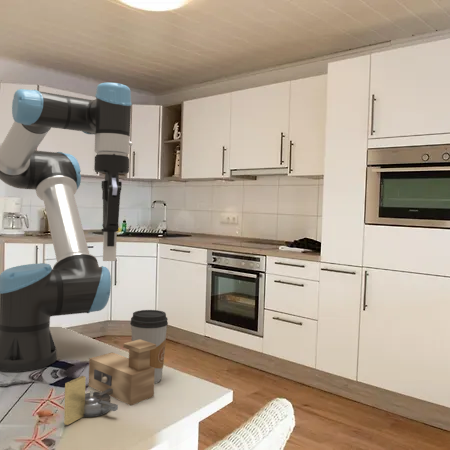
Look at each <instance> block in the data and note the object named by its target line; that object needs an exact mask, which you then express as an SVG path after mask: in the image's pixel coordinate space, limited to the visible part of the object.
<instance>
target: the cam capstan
mask: <svg viewBox="0 0 450 450" xmlns="http://www.w3.org/2000/svg"><path fill="white" fill-rule="evenodd" d="M86 380H87V379H86V376H84V375H80V376H79V377H76V378H74V379H72V380H70V381H67V382H65V383H64V384H65V385H64V411H63V412H64V414H63V415H64V416H63V417H64V418H63V419H64V420H63V421H64V422H63V423H64V425H65V426H69V425H71V424H72V423H74V422H76V421H77V420H79V419H82V418H84V417H85V418H86V417H87V418H91V417H99V416H102V415H105V414H107V413H109V412H110V411H112V412H115V411H116V412H117V410H118V409H119V404H117V403H113V402H111V396H109V395H111V394H113V389H110V388H109V389H107V390H105V391H103V392H101V391H94V390H89V392H86Z"/></svg>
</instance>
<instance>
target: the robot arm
mask: <svg viewBox="0 0 450 450" xmlns="http://www.w3.org/2000/svg"><path fill="white" fill-rule="evenodd" d="M94 96H95V99H88V98H82V97H76V96H71V95H70V96H69V95H64V94H63V95H62V94H57V93H50V92H45V91H40V90H37V89H24V88H19V89H17V90H16V91H15V92H14V94H13V99H12V104H11V114H12V119H13V123H12V124H11V127H10V129H9V130H8V132H7V134H6V136H5V137H4V140H3V142H1V143H0V180H1V181H2V182H3V183H4V184H6V185H8V186H10V187H12V188H16V189H22V190H34V191H35V193H36V195H37V197H38V199H40V200H41V201H43V204H44V210H45V213H46V217H47V223H48V226H49V231H50V236H51V240H52V245H53V249H54V250H53V251H54V254H55V259H56V262H55V264H54V265H53V266H52V267H51V265H50V264H49V263H45V262H44V263H43V262H42V263H41V262H40V263H29V264H21V265H17V266H13V267H9V268H7V269H5V270H3V271H1V273H0V371H1V372H7V373H8V372H10V373H13V372H29V371H35V370H38V369H43V368H45V367H48V366H51V365H52V364H54V363H55V362H56V361H57V348H56V347H57V346H56V344H55V340H54V337H53V335H52V333H51V332H52V331H51V326H50V325H51V317H55V316H56V317H57V316H69V315H78V314H90V313H93V312H94V313H95V312H100V311H102V310H104V309H105V308H106V306H107V304H108V302H109V299H110V295H111V289H112V278H111V272H110V270H109V268H108V267H106V266H103V265H101V266H99V262H98V259H97V257H96V256H95V255H93V254H90V250H89V248H88V243H87V240H86V235H85V232H84V227H83V224H82V221H81V217H80V213H79V209H78V206H77V202H76V198H75V194H76V192H77V190H78V189H79V188H80V186H81V181H82V175H81V171H82V170H81V166H80V163H79V161H78V159H77V158H76V156H74V155H72V154H70V153H65V152H61V151H58V152H57V151H56V152H55V151H54V152H53V151H45V150H37V149H38V147H39V146H40V144H41V143H42V141H43V140H44V138H45V137H46V136H47V134H48V133H49V131H50V130H51V129H52V128H53V129H61V130H62V129H64V130H68V131H78V132H82V133H84V134H86V135H94V152H95V153H96V155H94V165H93V166H94V167H93V168H94V169H93V170H94V171H95V172H96V173H100V174H101V173H102V174H104V175H105V176H104V180H102V181H101V190H102V225H101V226H102V228H101V232H102V233H103V234H102V235H103V236H102V237H103V241H102V242H103V243H102V261H103V262H117V237H118V236H117V235H118V234H117V233H118V232H119V219H120V203H121V191H122V183H123V182H122V181H120V176H119V175H123V174H124V175H126V174H128V173H129V172H130V158H129V156H128V155H129V154H130V147H131V146H132V145H133V141H130V139H131V138H130V137H131V116H132V115H131V114H132V113H131V112H132V105H133V104H132V91H131V89H130V87H129V86H128V85H125V84H122V83H118V82H101V83H99V84H98V85H96V93H95V95H94Z"/></svg>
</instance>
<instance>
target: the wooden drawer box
mask: <svg viewBox="0 0 450 450" xmlns="http://www.w3.org/2000/svg"><path fill="white" fill-rule="evenodd" d="M122 347H123V348H124V349H127V350H128V357H127V356H123V355H120V354H118V353H115V352H108V353H104V354H101V355H97V356H93V357H90V358H88V360H89V361H88V363H89V365H88V387H91V388H92V389H95V390H96V391H97V392H103V391H105V390H107V389H109V388H110V389H113V394H111V395H109V396H110V398H111V397H112V398H114V399H116V400H119V401H120V402H122V403H123V404H124V403H125V404H127V405H129V406H133V405H135V404H138V403H141V402H143V401H146V400H149V399H151V398H154V396H155V395H154V394H155V383H154V373H155V368H154V367H151V366H150V350H152V349H155V348H156V344H153V343H150V342H147V341H144V340H141V339H139V340H135V341H132V340H131V341H128V342H124V343H123V344H122Z"/></svg>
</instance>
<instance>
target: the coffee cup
mask: <svg viewBox="0 0 450 450" xmlns="http://www.w3.org/2000/svg"><path fill="white" fill-rule="evenodd" d="M130 325H131V327H130V328H131V341H135V340H139V339H141V340H144V341H147V342H150V343H153V344H156V348H155V349H152V350H150V366H151V367H154V368H155V373H154V384H158V383H159V382H160V381H161V379H162V377H163V367H164V363H165V354H166V353H165V351H166V344H167V343H166V341H167V339H166V337H167V330H168V329H167V327H168V325H169V322H168V317H167V314H166V312H165V311H162V310H158V309H157V310H156V309H142V310H136V311H135V312H132V317H131V318H130Z"/></svg>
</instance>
